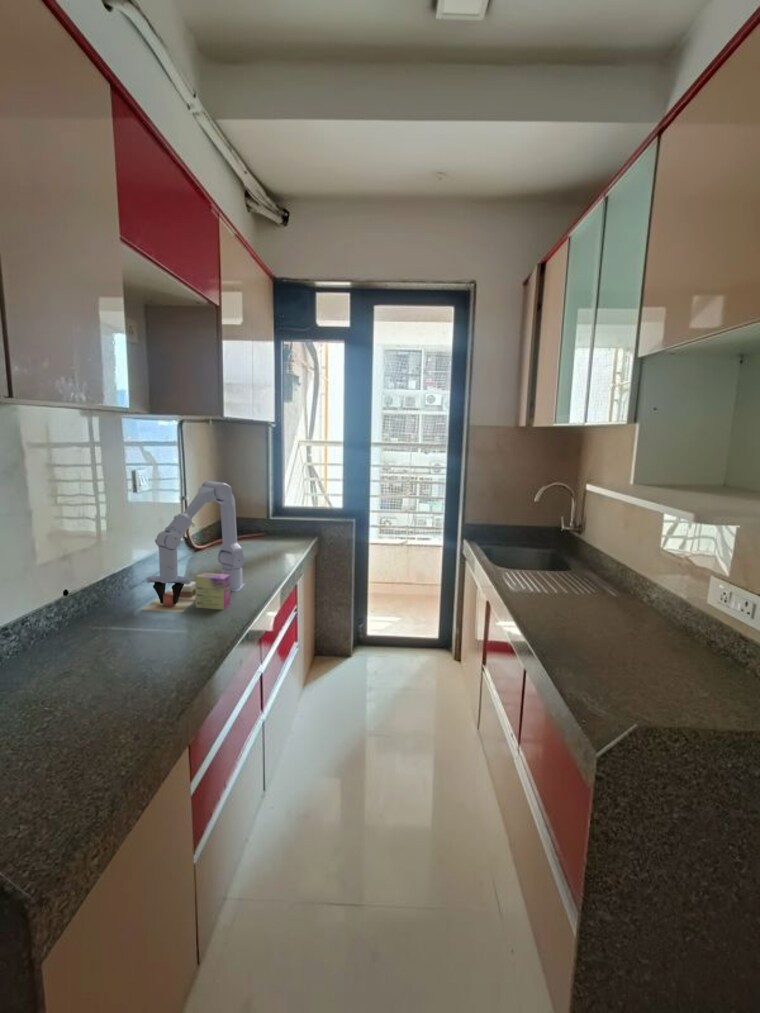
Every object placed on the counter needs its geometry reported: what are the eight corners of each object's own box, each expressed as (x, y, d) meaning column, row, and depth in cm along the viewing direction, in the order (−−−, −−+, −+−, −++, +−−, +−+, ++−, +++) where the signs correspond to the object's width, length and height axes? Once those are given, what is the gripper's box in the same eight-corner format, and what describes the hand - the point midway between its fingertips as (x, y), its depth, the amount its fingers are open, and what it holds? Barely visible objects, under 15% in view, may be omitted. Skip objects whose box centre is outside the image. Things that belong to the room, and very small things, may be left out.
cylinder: (166, 602, 168) (165, 592, 167) (177, 603, 168) (177, 592, 167) (161, 606, 164) (160, 595, 163) (172, 607, 164) (172, 596, 163)
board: (171, 589, 184) (171, 588, 183) (207, 591, 184) (207, 589, 184) (140, 612, 160) (140, 610, 160) (182, 613, 160) (182, 612, 160)
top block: (181, 586, 180) (181, 580, 180) (196, 586, 180) (196, 581, 180) (174, 591, 174) (174, 585, 174) (190, 591, 174) (190, 586, 174)
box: (230, 605, 170) (230, 574, 168) (223, 611, 164) (223, 578, 162) (203, 603, 170) (202, 571, 169) (195, 609, 165) (194, 576, 163)
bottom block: (180, 590, 181) (180, 585, 181) (198, 591, 181) (198, 586, 181) (172, 596, 174) (172, 591, 174) (191, 597, 174) (191, 592, 174)
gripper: (141, 567, 160) (142, 606, 162) (184, 569, 160) (185, 607, 162) (151, 562, 167) (152, 599, 169) (192, 563, 167) (193, 600, 169)
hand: (169, 602), depth 166 cm, fingers closed on cylinder, 4 cm apart
